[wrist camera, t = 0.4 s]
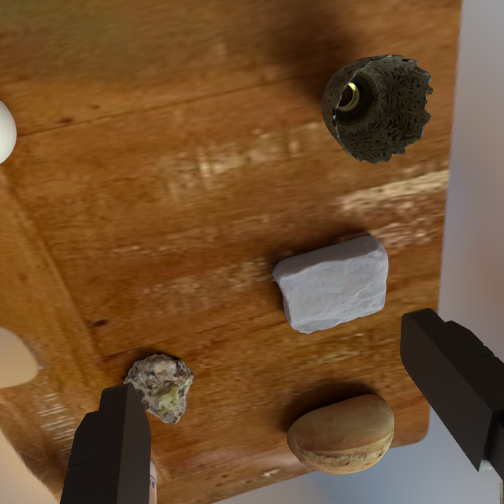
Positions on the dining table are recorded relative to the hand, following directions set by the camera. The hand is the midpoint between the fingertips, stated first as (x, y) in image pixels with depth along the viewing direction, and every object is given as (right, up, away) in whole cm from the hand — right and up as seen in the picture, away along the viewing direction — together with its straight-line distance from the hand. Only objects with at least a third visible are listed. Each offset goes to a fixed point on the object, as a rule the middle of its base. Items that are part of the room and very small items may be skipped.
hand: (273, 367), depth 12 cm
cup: (+7, +17, +24) cm, 30 cm away
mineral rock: (-12, -12, +37) cm, 40 cm away
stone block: (+8, 0, +34) cm, 35 cm away
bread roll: (+11, -19, +45) cm, 50 cm away
